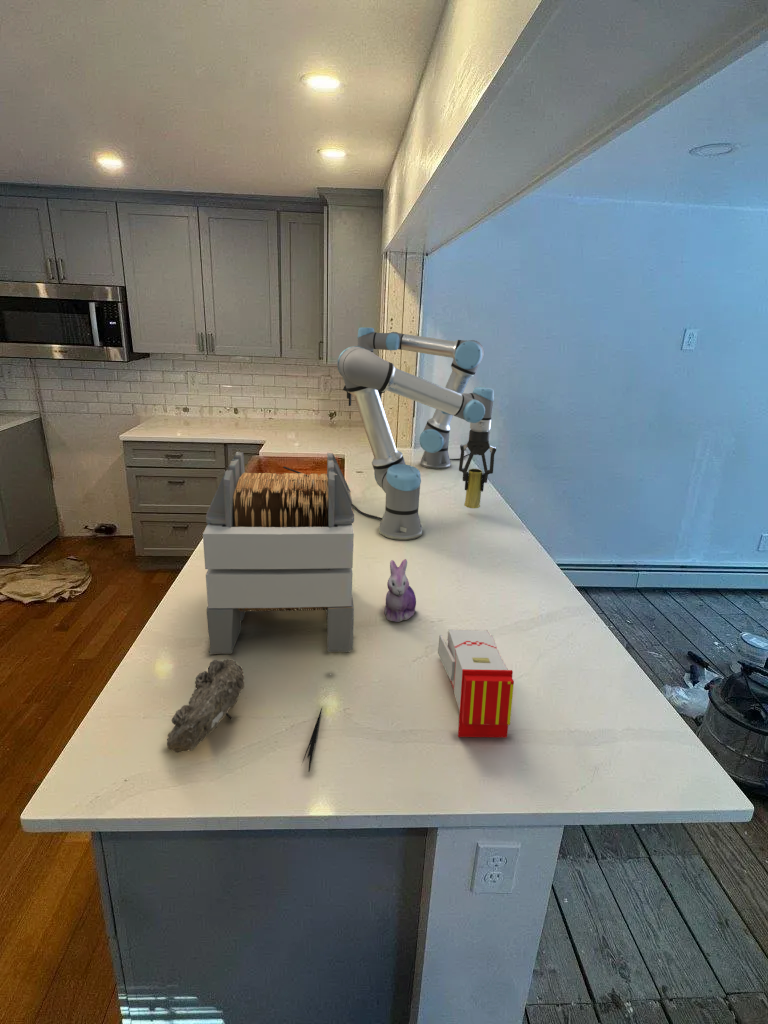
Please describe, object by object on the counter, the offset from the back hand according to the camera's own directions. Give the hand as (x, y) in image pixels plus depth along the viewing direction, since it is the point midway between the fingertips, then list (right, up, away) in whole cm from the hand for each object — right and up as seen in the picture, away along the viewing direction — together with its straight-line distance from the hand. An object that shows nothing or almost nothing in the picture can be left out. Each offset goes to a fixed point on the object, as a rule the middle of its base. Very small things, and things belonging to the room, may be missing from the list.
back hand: (363, 406), depth 276 cm
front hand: (+44, -43, -59) cm, 85 cm away
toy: (+28, -89, -158) cm, 183 cm away
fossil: (-23, -91, -168) cm, 192 cm away
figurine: (+14, -78, -129) cm, 151 cm away
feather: (-2, -91, -167) cm, 191 cm away
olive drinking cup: (+44, -49, -56) cm, 87 cm away
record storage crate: (-15, -78, -132) cm, 154 cm away
